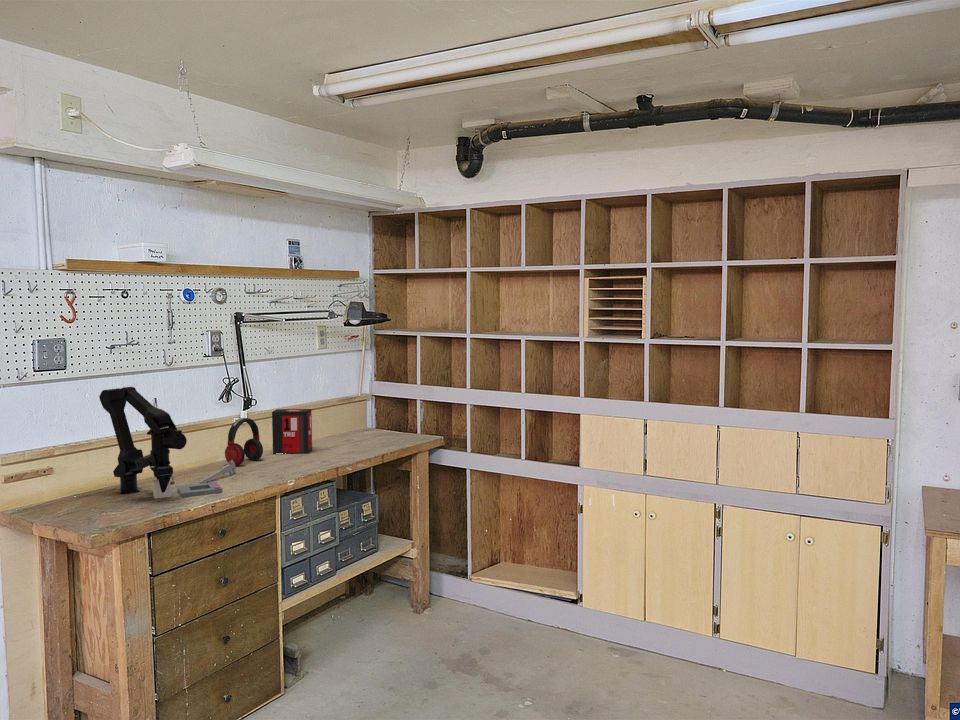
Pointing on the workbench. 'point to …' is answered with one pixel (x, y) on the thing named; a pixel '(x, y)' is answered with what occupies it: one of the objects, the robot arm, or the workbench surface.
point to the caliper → (221, 472)
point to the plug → (157, 489)
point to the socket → (199, 489)
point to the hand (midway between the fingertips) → (161, 489)
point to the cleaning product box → (292, 431)
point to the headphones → (251, 446)
